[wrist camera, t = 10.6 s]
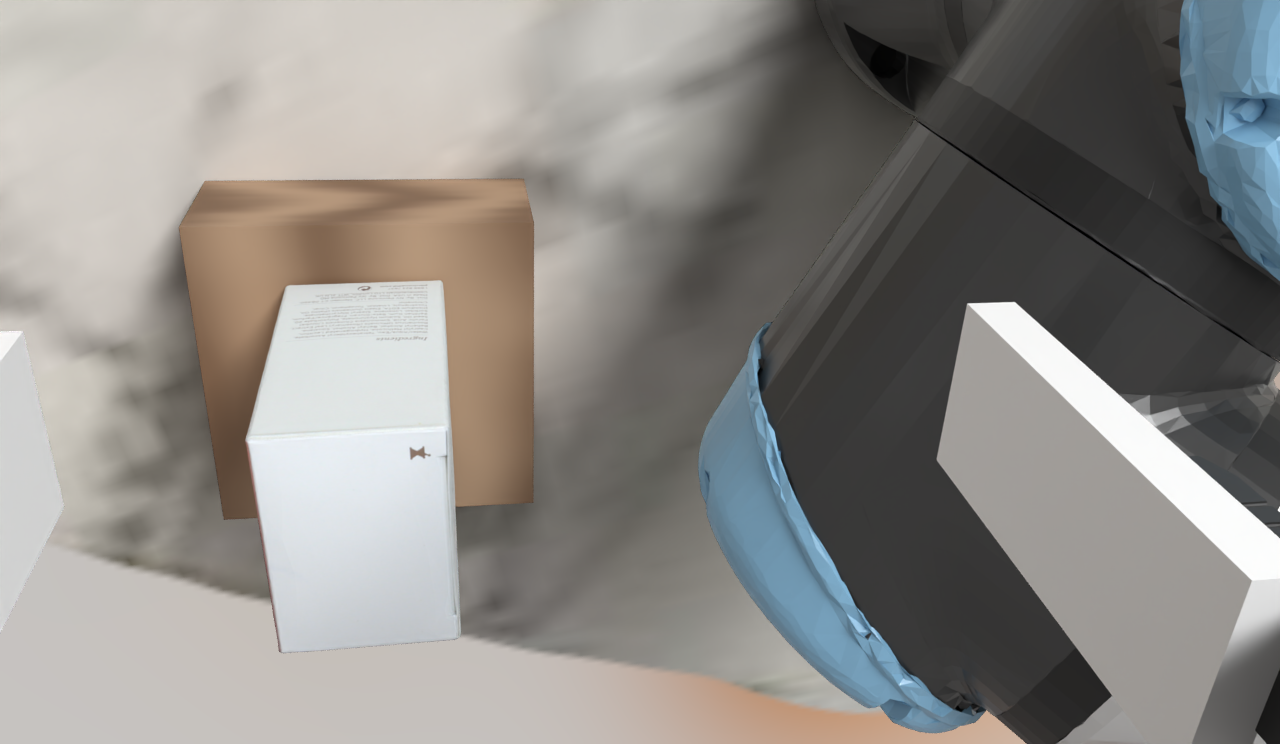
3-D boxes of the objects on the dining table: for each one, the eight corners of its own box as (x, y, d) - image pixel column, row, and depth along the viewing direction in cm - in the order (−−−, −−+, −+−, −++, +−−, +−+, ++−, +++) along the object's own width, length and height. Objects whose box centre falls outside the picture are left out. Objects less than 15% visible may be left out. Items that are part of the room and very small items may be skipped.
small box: (284, 280, 39) (239, 432, 30) (446, 275, 40) (450, 422, 31) (307, 473, 43) (274, 660, 34) (455, 464, 44) (461, 645, 35)
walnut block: (523, 178, 44) (533, 222, 40) (524, 439, 50) (533, 502, 45) (205, 181, 42) (178, 227, 38) (242, 452, 48) (223, 519, 43)
